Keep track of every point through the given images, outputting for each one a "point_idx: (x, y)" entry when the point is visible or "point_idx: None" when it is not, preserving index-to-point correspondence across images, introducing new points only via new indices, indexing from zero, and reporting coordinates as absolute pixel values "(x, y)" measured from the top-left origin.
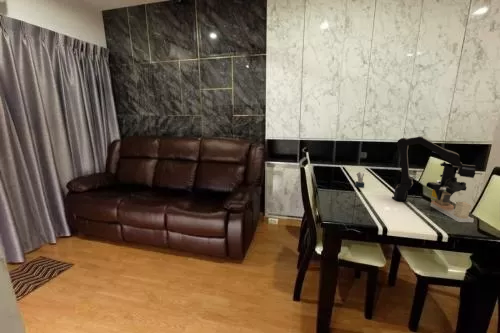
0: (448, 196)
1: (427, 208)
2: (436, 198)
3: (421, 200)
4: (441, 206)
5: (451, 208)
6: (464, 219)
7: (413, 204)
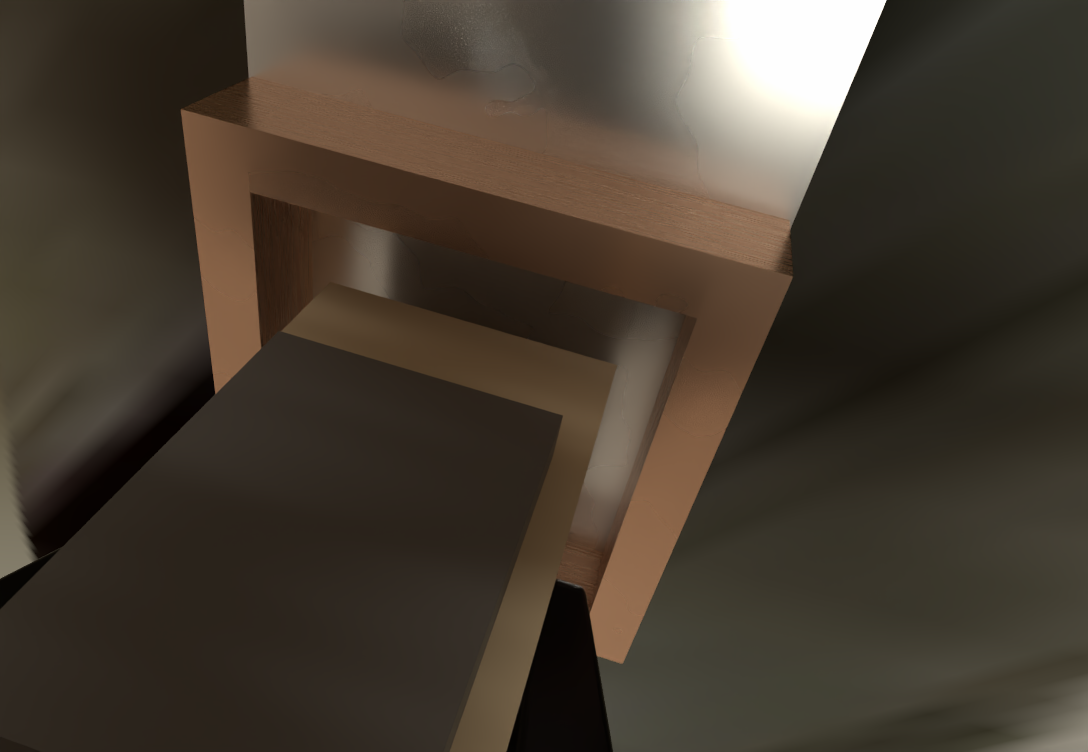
0: (154, 649)
1: (962, 440)
2: None
3: None
4: (774, 252)
5: (337, 90)
6: None
7: (1046, 694)
